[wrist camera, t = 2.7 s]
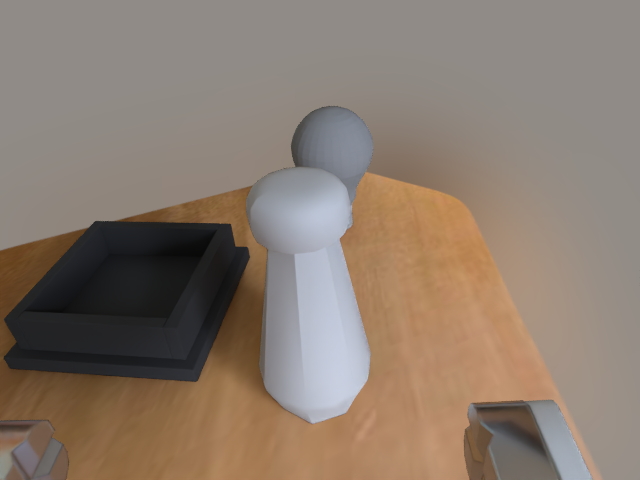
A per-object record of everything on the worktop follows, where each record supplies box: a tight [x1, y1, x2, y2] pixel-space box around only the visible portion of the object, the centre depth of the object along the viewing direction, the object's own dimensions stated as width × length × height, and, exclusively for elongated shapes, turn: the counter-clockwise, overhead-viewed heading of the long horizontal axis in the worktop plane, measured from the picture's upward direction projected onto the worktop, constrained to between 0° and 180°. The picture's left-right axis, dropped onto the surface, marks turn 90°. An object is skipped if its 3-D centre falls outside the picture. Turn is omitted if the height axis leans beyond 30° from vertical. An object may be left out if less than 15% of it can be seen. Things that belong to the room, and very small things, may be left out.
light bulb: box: [291, 106, 373, 230], centre depth 38 cm, size 6×6×10 cm
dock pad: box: [4, 221, 250, 382], centre depth 34 cm, size 12×12×4 cm
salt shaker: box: [246, 167, 371, 424], centre depth 24 cm, size 6×6×13 cm
